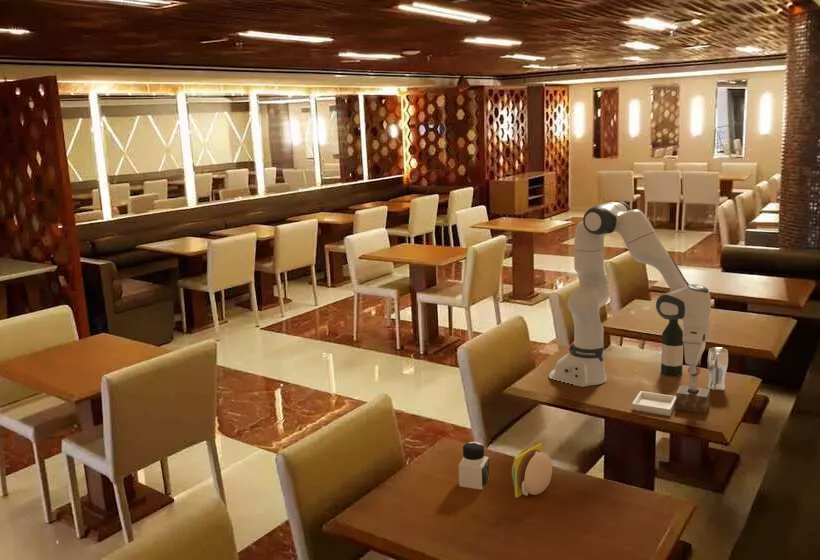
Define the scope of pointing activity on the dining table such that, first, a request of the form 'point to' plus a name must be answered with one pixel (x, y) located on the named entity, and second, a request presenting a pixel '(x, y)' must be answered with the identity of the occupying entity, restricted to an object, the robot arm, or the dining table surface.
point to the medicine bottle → (473, 467)
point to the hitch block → (692, 399)
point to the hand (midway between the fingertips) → (695, 369)
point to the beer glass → (717, 367)
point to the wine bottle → (672, 349)
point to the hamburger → (531, 471)
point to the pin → (693, 380)
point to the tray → (654, 403)
